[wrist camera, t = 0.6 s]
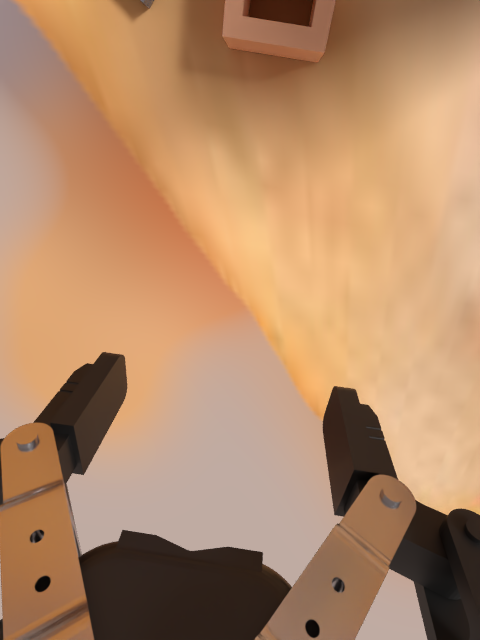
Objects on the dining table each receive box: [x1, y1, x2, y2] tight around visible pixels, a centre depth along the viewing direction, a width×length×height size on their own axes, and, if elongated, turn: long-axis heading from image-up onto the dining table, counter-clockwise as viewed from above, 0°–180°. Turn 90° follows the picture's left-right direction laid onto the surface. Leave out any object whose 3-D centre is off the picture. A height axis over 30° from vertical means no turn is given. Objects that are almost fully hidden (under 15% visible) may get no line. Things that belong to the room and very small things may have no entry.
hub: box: [222, 0, 336, 62], centre depth 24 cm, size 5×7×4 cm
